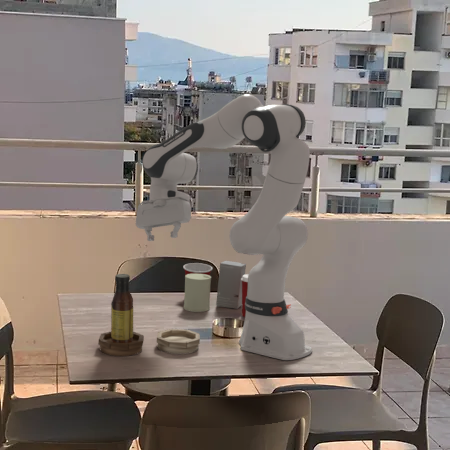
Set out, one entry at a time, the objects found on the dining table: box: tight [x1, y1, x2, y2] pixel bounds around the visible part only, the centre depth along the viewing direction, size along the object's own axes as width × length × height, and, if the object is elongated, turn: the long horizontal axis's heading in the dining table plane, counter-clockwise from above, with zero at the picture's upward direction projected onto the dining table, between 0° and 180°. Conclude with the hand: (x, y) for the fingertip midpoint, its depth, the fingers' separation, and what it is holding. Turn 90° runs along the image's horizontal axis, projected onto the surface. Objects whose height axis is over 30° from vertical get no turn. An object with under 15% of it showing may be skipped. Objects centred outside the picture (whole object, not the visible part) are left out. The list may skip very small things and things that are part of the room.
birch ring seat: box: [156, 328, 201, 355], centre depth 213 cm, size 12×12×4 cm
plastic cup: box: [183, 262, 213, 276], centre depth 268 cm, size 11×11×12 cm
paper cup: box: [241, 273, 249, 318], centre depth 248 cm, size 8×8×14 cm
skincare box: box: [215, 260, 247, 310], centre depth 259 cm, size 8×7×16 cm
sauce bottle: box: [110, 273, 134, 343], centre depth 207 cm, size 7×6×20 cm
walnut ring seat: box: [98, 331, 145, 357], centre depth 208 cm, size 12×12×4 cm
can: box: [183, 274, 212, 313], centre depth 254 cm, size 9×9×12 cm
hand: (162, 239), depth 232 cm, fingers open, 8 cm apart
